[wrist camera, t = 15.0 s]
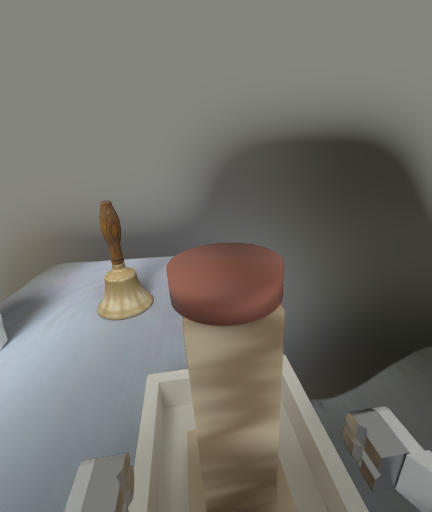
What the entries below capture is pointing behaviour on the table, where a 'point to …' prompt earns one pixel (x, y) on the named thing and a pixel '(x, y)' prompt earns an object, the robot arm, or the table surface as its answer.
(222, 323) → the beige red tall post
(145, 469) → the tray
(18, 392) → the table surface
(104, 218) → the hand bell
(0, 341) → the white cup
